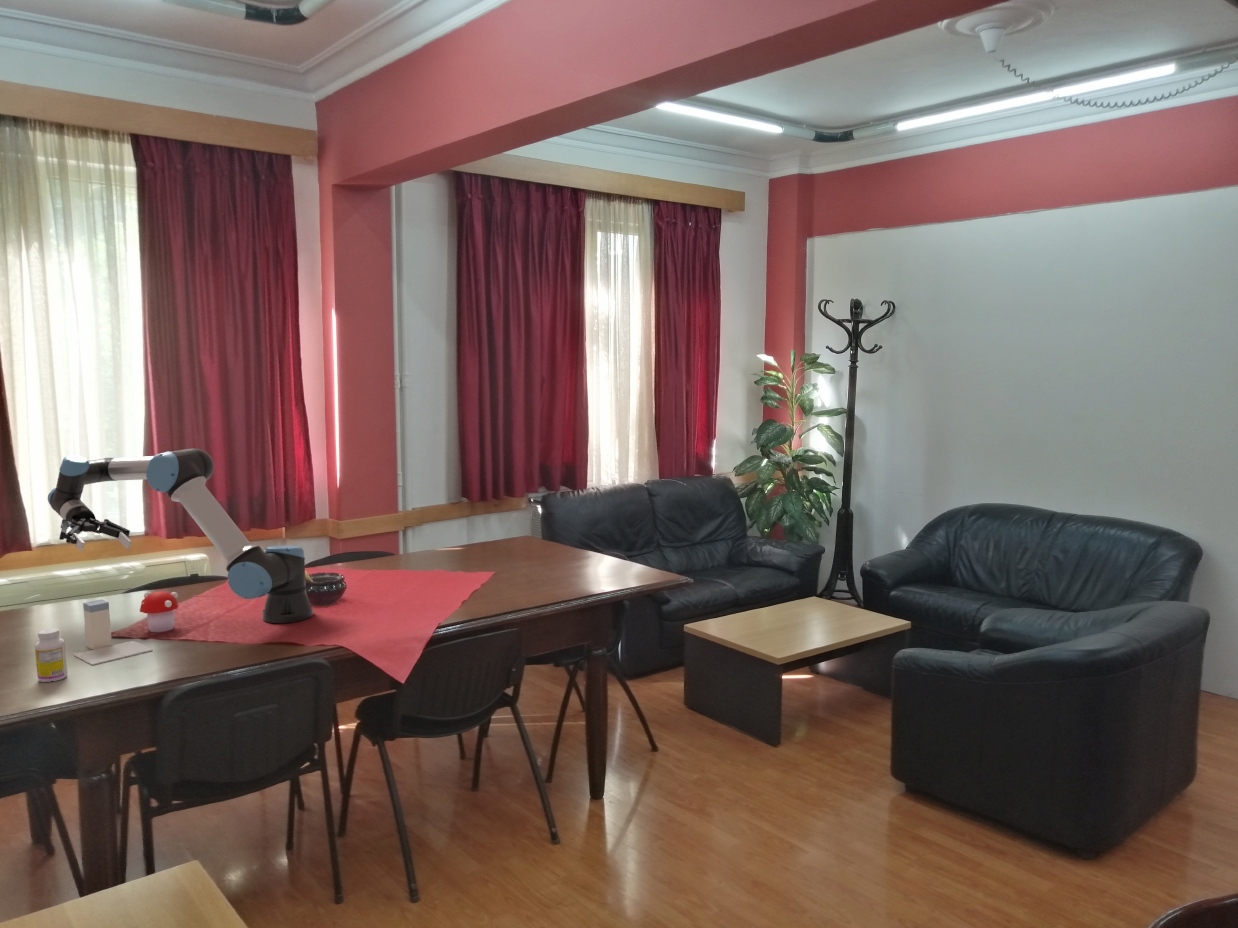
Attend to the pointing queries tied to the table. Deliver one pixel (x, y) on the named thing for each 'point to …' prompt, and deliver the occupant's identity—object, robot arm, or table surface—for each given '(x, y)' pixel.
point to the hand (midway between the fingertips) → (106, 545)
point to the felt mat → (112, 652)
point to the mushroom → (159, 610)
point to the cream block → (97, 624)
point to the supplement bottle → (50, 656)
